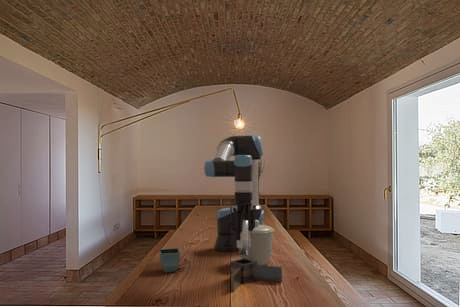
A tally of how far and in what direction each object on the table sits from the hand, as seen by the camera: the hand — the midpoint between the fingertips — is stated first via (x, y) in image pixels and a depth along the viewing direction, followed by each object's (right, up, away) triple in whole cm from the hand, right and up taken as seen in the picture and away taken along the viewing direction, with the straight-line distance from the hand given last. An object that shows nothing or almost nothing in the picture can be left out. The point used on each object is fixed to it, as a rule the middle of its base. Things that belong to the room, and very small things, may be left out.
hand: (243, 246), depth 147 cm
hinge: (+1, -13, -6) cm, 14 cm away
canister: (+7, -14, +22) cm, 27 cm away
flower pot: (-33, -14, +11) cm, 38 cm away
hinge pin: (0, -3, 0) cm, 3 cm away
